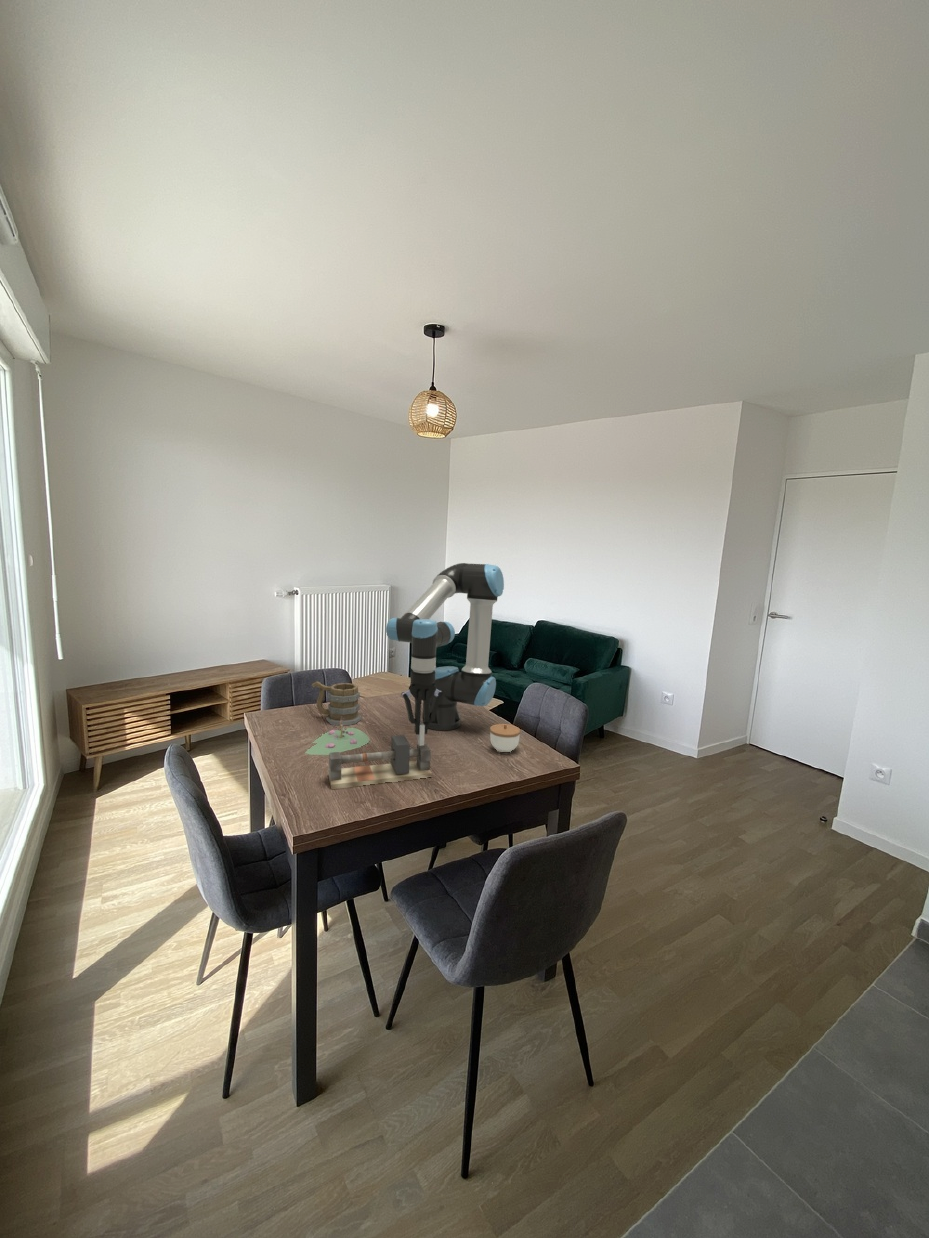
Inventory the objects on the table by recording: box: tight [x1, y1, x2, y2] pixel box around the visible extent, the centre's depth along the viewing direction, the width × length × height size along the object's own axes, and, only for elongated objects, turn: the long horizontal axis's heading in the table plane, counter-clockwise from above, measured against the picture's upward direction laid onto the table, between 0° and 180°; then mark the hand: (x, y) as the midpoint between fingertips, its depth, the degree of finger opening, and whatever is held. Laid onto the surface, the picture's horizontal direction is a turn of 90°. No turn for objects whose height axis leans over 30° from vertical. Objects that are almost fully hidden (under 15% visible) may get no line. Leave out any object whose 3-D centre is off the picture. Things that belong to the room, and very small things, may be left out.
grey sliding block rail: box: [328, 743, 433, 790], centre depth 155 cm, size 30×10×8 cm, turn 110°
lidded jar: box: [489, 723, 521, 753], centre depth 179 cm, size 11×11×9 cm
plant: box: [305, 716, 371, 756], centre depth 179 cm, size 25×21×9 cm
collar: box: [390, 734, 411, 774], centre depth 156 cm, size 4×8×9 cm, turn 20°
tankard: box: [311, 681, 362, 727], centre depth 203 cm, size 20×13×15 cm, turn 77°
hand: (420, 743), depth 158 cm, fingers closed
